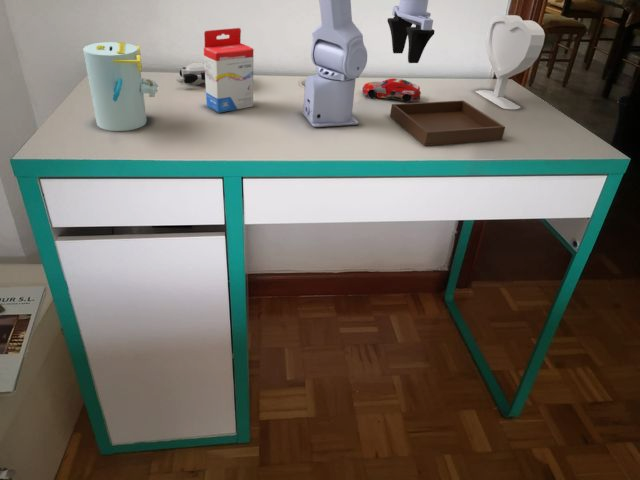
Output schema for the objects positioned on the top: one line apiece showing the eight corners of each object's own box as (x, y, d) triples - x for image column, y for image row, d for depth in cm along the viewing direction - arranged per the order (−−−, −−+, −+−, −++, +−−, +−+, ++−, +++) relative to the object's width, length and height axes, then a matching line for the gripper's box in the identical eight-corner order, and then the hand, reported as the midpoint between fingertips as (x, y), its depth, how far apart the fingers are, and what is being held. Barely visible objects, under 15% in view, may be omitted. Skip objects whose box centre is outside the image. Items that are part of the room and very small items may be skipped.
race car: (360, 97, 117) (362, 80, 114) (363, 90, 121) (364, 73, 119) (419, 104, 115) (422, 86, 113) (419, 97, 120) (422, 79, 117)
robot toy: (176, 94, 112) (245, 93, 113) (172, 73, 110) (243, 72, 110) (186, 77, 123) (249, 76, 123) (183, 58, 120) (248, 57, 120)
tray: (424, 146, 96) (427, 132, 94) (389, 116, 108) (391, 104, 106) (501, 139, 101) (505, 126, 100) (460, 112, 113) (463, 100, 111)
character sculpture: (164, 141, 90) (156, 63, 82) (93, 145, 87) (78, 63, 79) (159, 102, 106) (151, 33, 98) (98, 104, 102) (86, 33, 95)
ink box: (218, 113, 102) (215, 36, 94) (206, 106, 105) (201, 30, 97) (254, 106, 107) (254, 32, 99) (241, 99, 110) (240, 26, 102)
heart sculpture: (470, 89, 128) (488, 10, 118) (487, 88, 129) (507, 11, 119) (507, 111, 116) (531, 26, 106) (526, 110, 117) (551, 26, 107)
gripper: (451, -4, 100) (437, 66, 108) (416, -17, 112) (406, 48, 119) (419, -5, 98) (407, 67, 106) (387, -17, 110) (378, 49, 117)
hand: (405, 57), depth 112 cm, fingers open, 7 cm apart
